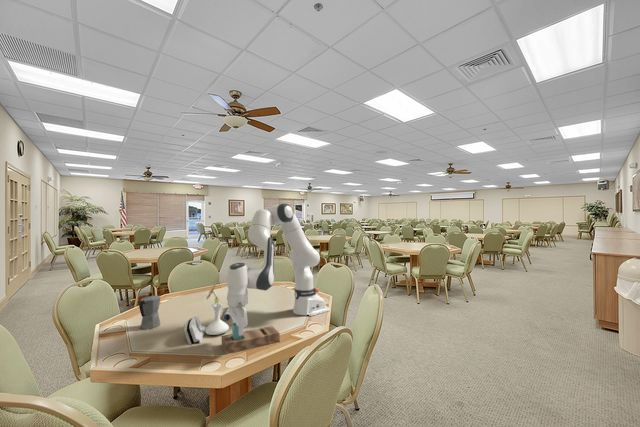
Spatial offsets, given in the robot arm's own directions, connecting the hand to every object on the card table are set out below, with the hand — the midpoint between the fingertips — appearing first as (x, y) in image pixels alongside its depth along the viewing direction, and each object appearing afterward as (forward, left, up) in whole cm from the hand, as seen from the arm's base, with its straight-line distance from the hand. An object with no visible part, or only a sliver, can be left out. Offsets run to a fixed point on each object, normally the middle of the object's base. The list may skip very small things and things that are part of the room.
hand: (238, 331), depth 124 cm
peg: (0, 0, -7) cm, 7 cm away
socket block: (-6, 0, -7) cm, 9 cm away
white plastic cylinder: (-6, -47, -7) cm, 48 cm away
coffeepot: (+36, -46, -7) cm, 59 cm away
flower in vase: (+6, -20, -7) cm, 22 cm away
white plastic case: (+16, -21, -7) cm, 27 cm away
